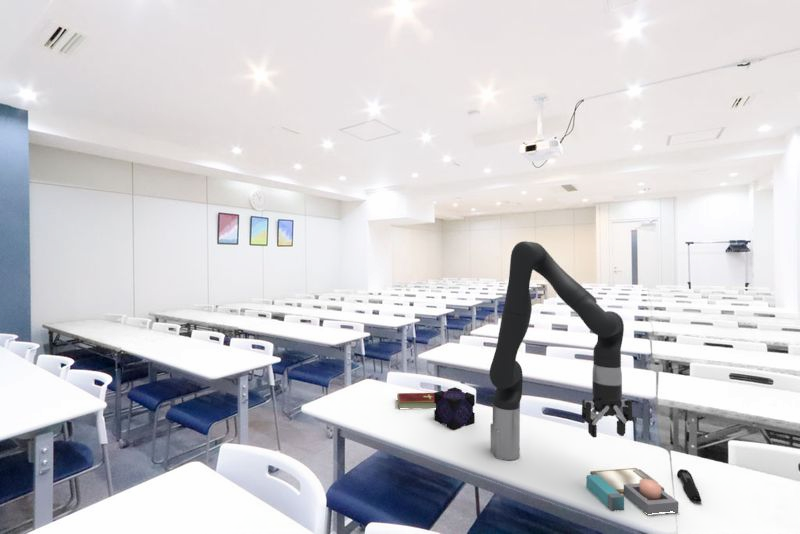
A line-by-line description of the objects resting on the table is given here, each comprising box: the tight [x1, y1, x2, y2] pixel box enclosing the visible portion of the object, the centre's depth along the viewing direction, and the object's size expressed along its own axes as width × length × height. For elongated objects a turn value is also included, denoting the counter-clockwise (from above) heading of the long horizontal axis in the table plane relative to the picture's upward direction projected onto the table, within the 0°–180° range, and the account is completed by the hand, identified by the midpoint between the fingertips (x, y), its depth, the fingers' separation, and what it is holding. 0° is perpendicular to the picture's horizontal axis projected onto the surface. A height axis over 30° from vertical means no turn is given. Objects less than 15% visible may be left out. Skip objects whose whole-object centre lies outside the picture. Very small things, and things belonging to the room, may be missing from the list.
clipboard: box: [590, 467, 665, 495], centre depth 114 cm, size 16×11×1 cm
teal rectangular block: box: [585, 474, 625, 512], centre depth 107 cm, size 12×4×4 cm, turn 7°
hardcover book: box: [396, 392, 436, 409], centre depth 177 cm, size 12×21×4 cm, turn 93°
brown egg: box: [639, 479, 662, 501], centre depth 104 cm, size 5×5×3 cm
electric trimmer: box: [676, 468, 702, 503], centre depth 111 cm, size 4×16×3 cm, turn 153°
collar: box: [623, 483, 679, 515], centre depth 104 cm, size 9×9×3 cm
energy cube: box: [433, 386, 476, 432], centre depth 157 cm, size 12×12×12 cm
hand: (606, 435), depth 108 cm, fingers open, 8 cm apart
